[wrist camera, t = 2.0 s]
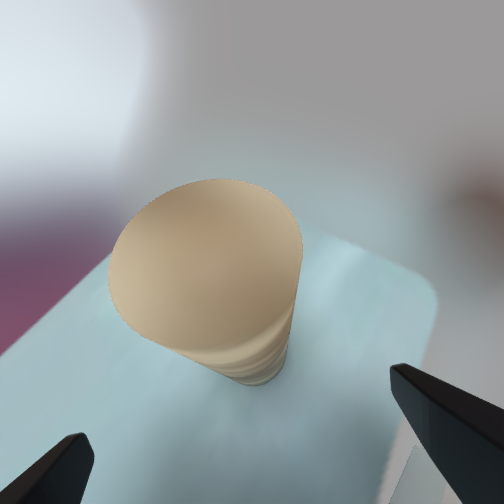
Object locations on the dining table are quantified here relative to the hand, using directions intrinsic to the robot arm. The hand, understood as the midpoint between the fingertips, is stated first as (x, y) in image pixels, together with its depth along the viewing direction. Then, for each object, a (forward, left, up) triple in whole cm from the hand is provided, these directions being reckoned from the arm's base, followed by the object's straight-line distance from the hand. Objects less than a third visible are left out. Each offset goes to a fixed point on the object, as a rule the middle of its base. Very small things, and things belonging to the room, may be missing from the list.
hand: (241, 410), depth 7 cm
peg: (+2, +3, -11) cm, 11 cm away
